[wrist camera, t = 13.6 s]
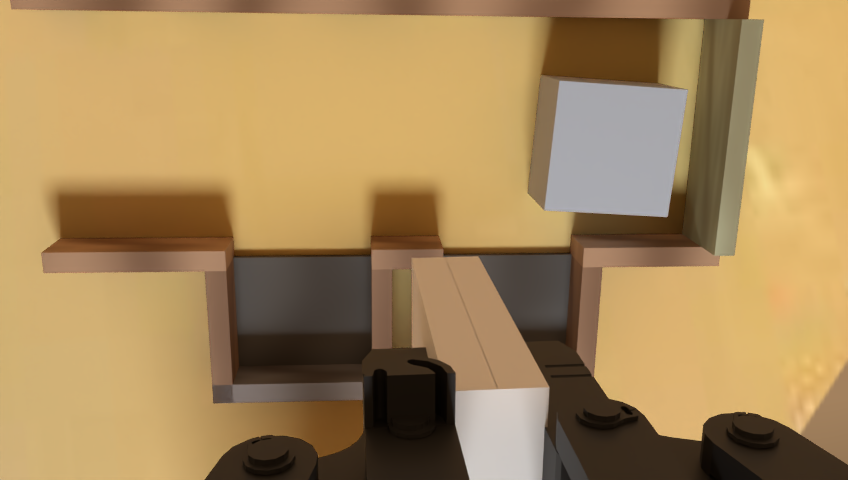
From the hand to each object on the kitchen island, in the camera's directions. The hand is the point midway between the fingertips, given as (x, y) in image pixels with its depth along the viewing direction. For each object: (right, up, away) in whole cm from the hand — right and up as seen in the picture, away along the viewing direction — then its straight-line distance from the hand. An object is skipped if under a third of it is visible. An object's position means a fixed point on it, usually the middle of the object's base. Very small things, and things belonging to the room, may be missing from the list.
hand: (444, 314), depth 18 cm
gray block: (+8, +7, +23) cm, 25 cm away
